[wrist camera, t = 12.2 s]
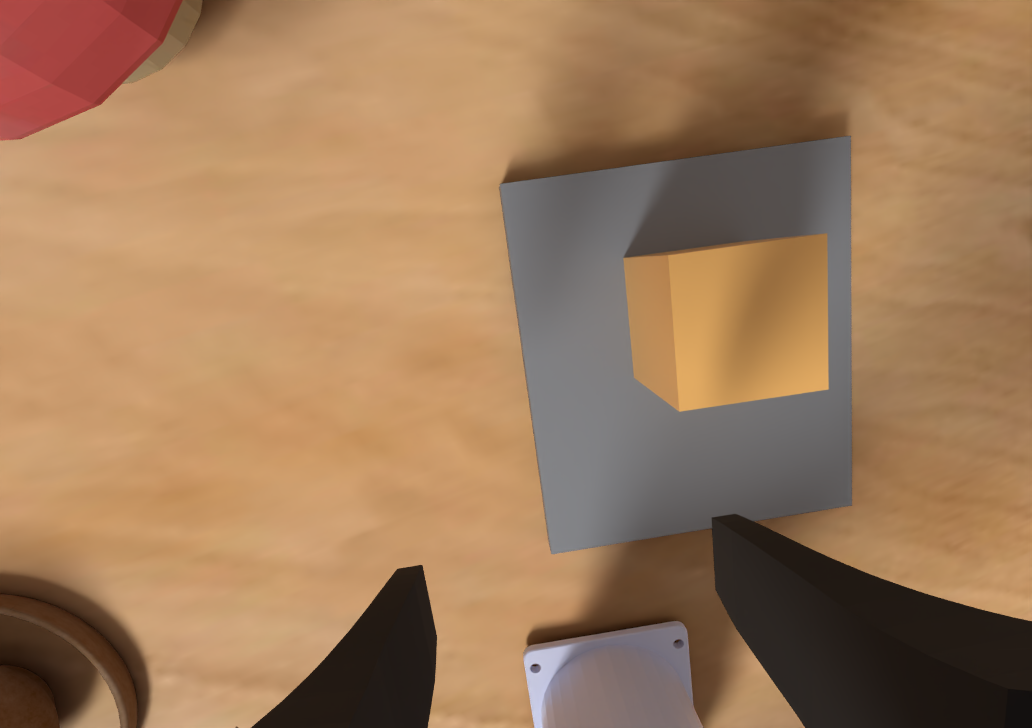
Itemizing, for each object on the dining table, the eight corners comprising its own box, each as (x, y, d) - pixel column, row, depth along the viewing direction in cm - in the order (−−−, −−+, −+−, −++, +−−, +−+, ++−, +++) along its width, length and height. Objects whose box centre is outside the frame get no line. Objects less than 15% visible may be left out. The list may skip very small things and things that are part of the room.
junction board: (836, 495, 24) (916, 547, 19) (548, 542, 23) (563, 606, 19) (833, 142, 21) (927, 108, 16) (499, 187, 20) (503, 166, 16)
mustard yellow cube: (749, 360, 21) (828, 389, 16) (633, 377, 21) (679, 411, 16) (744, 241, 20) (827, 233, 15) (623, 257, 20) (668, 255, 15)
